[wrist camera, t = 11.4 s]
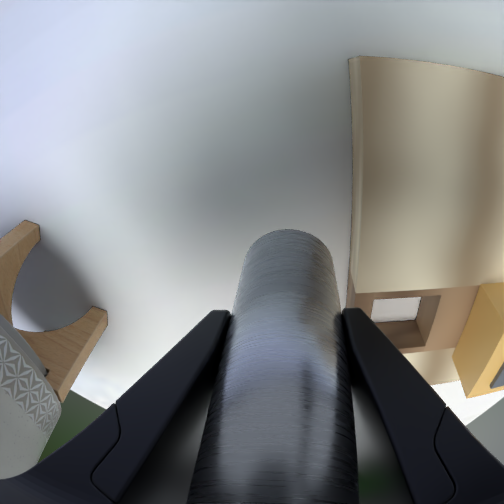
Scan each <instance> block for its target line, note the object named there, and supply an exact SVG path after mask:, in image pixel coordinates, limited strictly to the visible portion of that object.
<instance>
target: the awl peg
mask: <svg viewBox="0 0 504 504" xmlns="http://www.w3.org/2000/svg"><path fill="white" fill-rule="evenodd" d="M186 504H359V479H358V460H357V445H356V432H355V420H354V410H353V399H352V390H351V381H350V372H349V365H348V357H347V349H346V342H345V335H344V328H343V321H342V314H341V307H340V301H339V295H338V289H337V283H336V277H335V271H334V266H333V261H332V257H331V254H330V252H329V250H328V249H327V247H326V246H325V245H324V244H323V243H322V242H321V241H320V240H319V239H318V238H316V237H315V236H313V235H311V234H309V233H306V232H303V231H299V230H292V229H285V230H278V231H273V232H271V233H268V234H266V235H264V236H262V237H261V238H259V239H258V240H257V241H256V242H255V243H254V244H253V245H252V246H251V247H250V249H249V250H248V252H247V255H246V257H245V261H244V265H243V269H242V273H241V278H240V282H239V286H238V290H237V294H236V298H235V302H234V306H233V310H232V314H231V318H230V323H229V327H228V331H227V335H226V339H225V343H224V347H223V351H222V356H221V360H220V364H219V368H218V372H217V376H216V380H215V385H214V389H213V393H212V397H211V401H210V405H209V409H208V414H207V418H206V422H205V426H204V430H203V435H202V439H201V443H200V447H199V451H198V456H197V460H196V464H195V468H194V472H193V477H192V481H191V485H190V489H189V494H188V498H187V502H186Z"/></svg>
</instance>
